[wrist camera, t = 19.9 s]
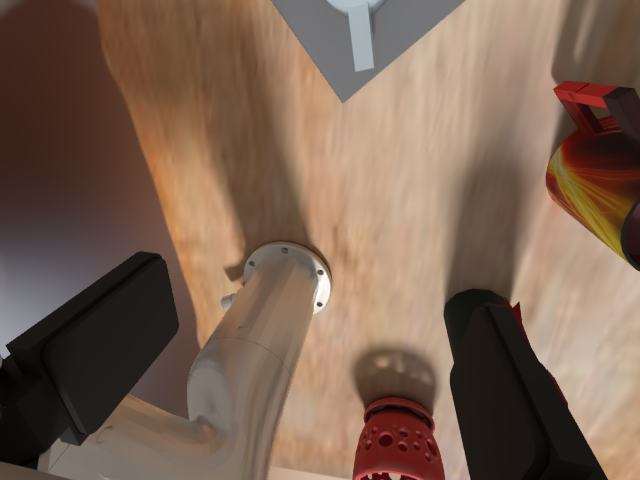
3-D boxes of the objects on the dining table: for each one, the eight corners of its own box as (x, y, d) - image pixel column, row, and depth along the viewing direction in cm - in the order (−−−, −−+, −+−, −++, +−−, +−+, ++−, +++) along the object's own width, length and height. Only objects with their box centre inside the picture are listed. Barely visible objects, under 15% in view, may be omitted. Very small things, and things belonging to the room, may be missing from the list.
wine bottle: (532, 285, 37) (842, 767, 12) (489, 341, 43) (639, 758, 17) (468, 266, 38) (632, 690, 12) (433, 324, 43) (497, 705, 17)
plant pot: (358, 385, 52) (351, 462, 42) (441, 395, 50) (454, 481, 39) (358, 430, 59) (352, 508, 48) (432, 442, 56) (441, 526, 46)
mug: (553, 78, 27) (651, 86, 17) (696, 138, 28) (878, 182, 17) (487, 176, 32) (531, 227, 22) (608, 227, 33) (708, 301, 22)
